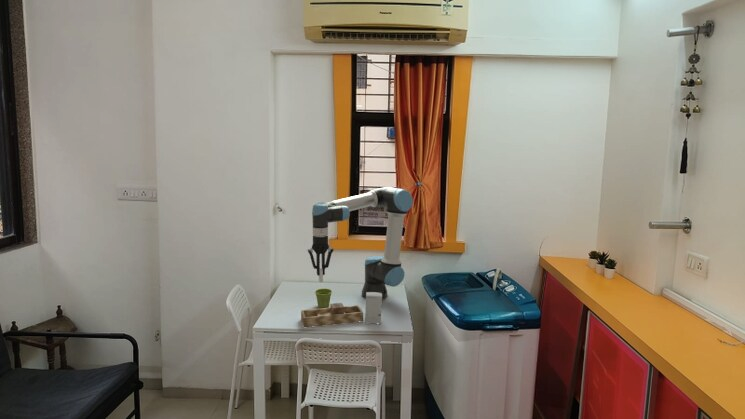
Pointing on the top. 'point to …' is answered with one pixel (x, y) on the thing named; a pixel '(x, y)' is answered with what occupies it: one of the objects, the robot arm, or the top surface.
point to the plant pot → (323, 297)
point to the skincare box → (373, 307)
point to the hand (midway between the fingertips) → (320, 281)
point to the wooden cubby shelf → (331, 316)
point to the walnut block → (336, 308)
